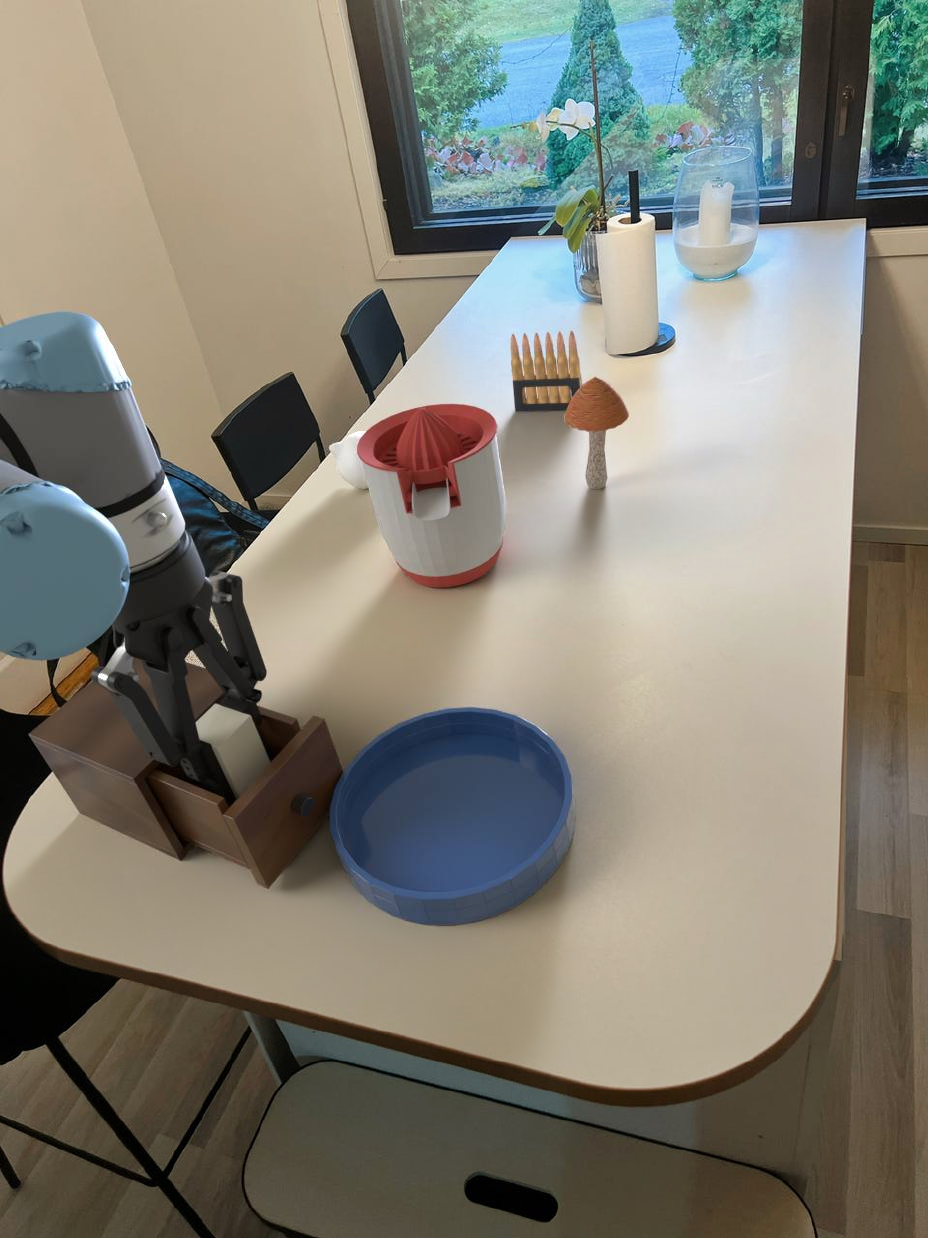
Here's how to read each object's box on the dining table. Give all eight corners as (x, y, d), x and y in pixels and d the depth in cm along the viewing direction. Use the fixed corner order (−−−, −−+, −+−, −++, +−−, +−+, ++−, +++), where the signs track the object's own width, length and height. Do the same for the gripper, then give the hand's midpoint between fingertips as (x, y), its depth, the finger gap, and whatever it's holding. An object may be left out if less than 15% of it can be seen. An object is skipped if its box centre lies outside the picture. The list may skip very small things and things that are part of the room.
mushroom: (644, 485, 112) (641, 375, 103) (594, 508, 110) (586, 397, 101) (606, 464, 118) (600, 358, 109) (558, 486, 116) (547, 378, 107)
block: (246, 811, 72) (217, 749, 68) (212, 797, 74) (181, 735, 70) (277, 777, 75) (250, 715, 70) (243, 764, 77) (215, 703, 72)
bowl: (505, 966, 63) (498, 939, 61) (292, 872, 73) (280, 845, 70) (612, 770, 76) (610, 742, 74) (420, 712, 85) (413, 685, 83)
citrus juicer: (383, 618, 99) (341, 460, 86) (391, 536, 112) (356, 390, 100) (520, 599, 97) (497, 437, 85) (512, 519, 111) (490, 369, 99)
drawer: (360, 792, 77) (336, 722, 72) (279, 895, 70) (245, 824, 65) (246, 750, 84) (216, 683, 78) (161, 840, 76) (122, 772, 71)
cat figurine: (413, 416, 117) (329, 419, 120) (404, 487, 114) (318, 488, 117) (429, 449, 126) (350, 451, 128) (421, 516, 122) (340, 517, 125)
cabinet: (272, 760, 83) (238, 678, 77) (180, 861, 75) (133, 779, 69) (174, 723, 90) (134, 645, 84) (79, 813, 82) (27, 734, 76)
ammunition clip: (585, 404, 134) (579, 327, 127) (583, 409, 133) (576, 332, 125) (517, 406, 137) (508, 331, 130) (514, 411, 136) (505, 336, 129)
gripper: (72, 633, 53) (202, 869, 67) (255, 492, 63) (334, 722, 77) (-2, 608, 56) (136, 838, 70) (183, 480, 67) (270, 701, 81)
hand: (240, 777), depth 74 cm, fingers closed on block, 4 cm apart
